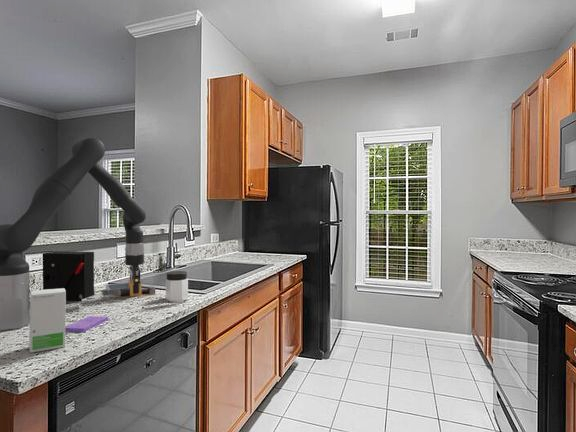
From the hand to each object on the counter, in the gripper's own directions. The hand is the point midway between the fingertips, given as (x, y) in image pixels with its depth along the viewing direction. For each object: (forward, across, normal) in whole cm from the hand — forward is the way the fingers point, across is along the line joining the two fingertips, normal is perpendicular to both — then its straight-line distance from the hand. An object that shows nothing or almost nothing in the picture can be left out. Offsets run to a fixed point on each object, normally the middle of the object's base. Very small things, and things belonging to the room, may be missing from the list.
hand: (134, 291), depth 153 cm
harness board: (+2, 0, 0) cm, 2 cm away
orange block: (+1, 0, 0) cm, 1 cm away
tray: (+2, -12, -4) cm, 12 cm away
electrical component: (+3, -11, -24) cm, 27 cm away
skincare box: (+3, +47, -29) cm, 55 cm away
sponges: (+3, +32, -19) cm, 37 cm away
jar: (+3, +16, +14) cm, 21 cm away
